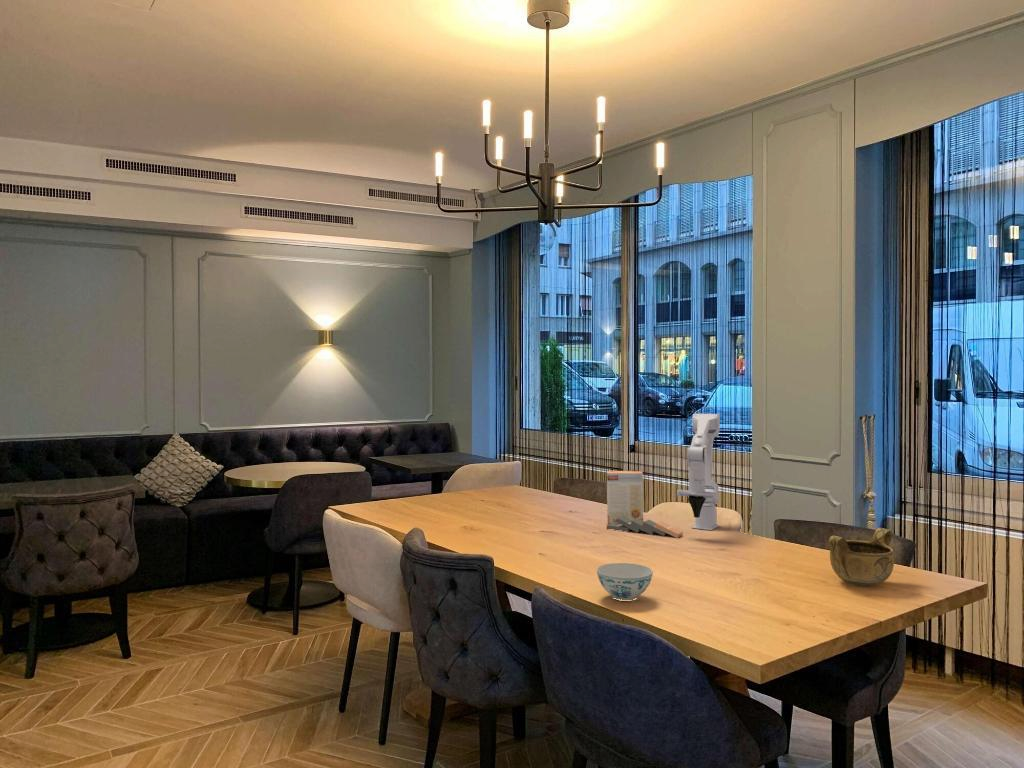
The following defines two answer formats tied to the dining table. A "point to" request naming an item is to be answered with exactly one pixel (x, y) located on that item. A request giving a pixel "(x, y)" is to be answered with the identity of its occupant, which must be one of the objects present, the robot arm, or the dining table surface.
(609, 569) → the chinaware
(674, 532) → the terracotta domino
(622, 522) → the domino
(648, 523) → the domino
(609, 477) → the cracker box
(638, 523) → the domino
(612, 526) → the end domino
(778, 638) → the dining table surface
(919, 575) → the dining table surface
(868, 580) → the ceramic bowl
